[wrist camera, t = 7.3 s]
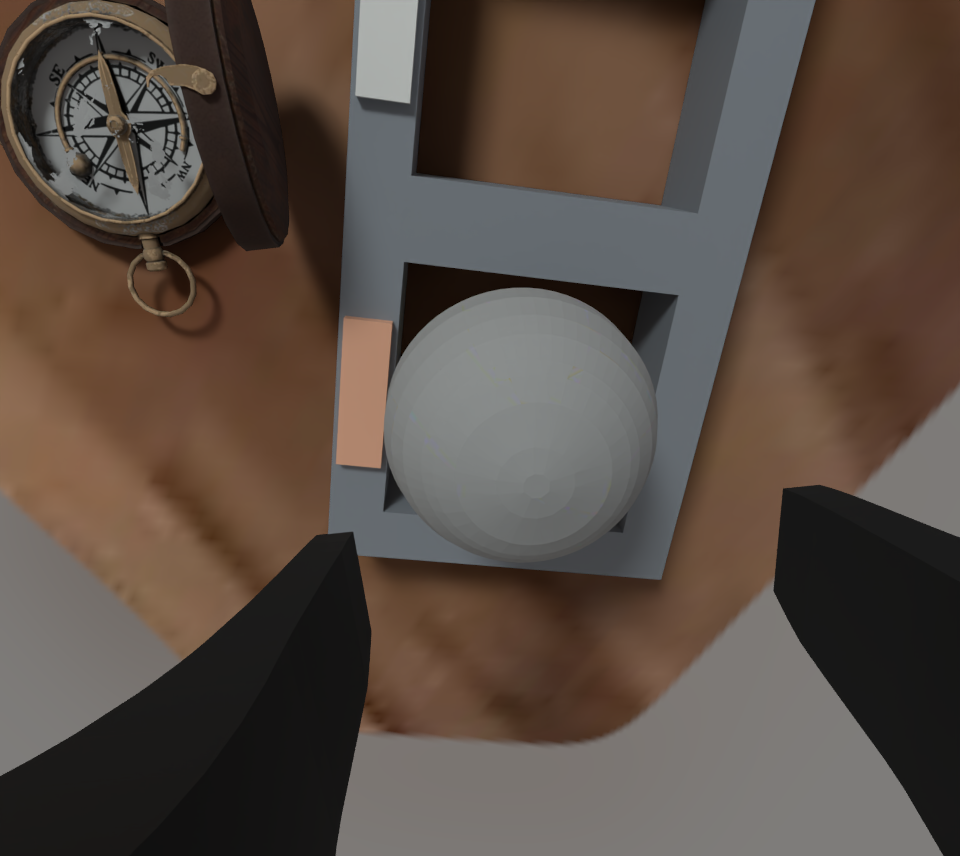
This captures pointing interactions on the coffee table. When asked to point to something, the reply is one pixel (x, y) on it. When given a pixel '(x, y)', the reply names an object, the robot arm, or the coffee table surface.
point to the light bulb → (520, 425)
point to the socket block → (553, 260)
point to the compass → (146, 123)
